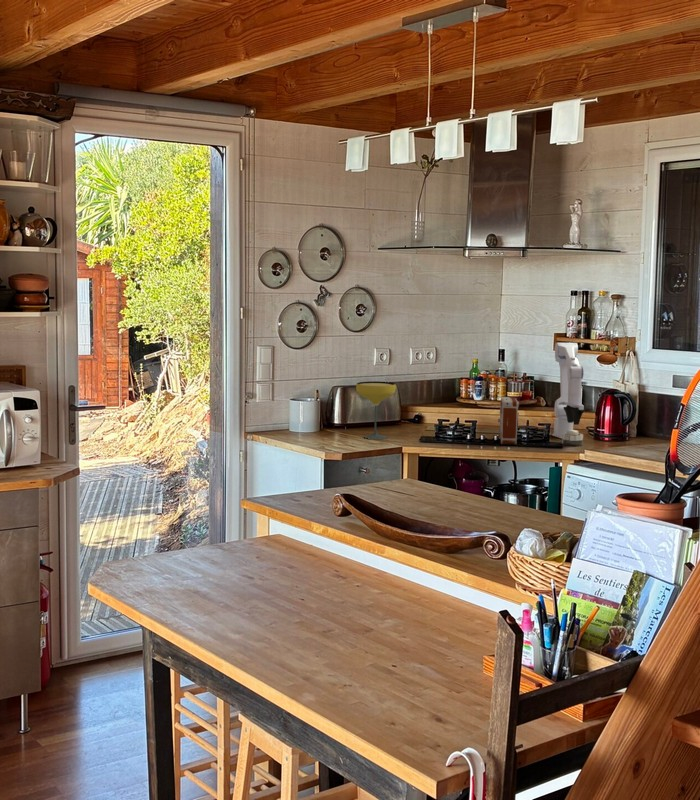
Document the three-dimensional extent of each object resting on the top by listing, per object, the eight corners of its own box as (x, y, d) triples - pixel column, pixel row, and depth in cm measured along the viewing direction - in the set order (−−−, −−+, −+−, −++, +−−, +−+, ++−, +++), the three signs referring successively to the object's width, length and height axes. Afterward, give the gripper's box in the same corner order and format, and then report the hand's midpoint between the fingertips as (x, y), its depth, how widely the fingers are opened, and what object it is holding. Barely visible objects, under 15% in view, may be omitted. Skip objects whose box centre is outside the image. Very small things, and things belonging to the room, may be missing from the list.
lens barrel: (558, 442, 452) (558, 433, 452) (576, 442, 455) (577, 432, 454) (567, 446, 444) (568, 436, 443) (586, 445, 446) (586, 435, 445)
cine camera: (516, 438, 464) (517, 395, 461) (519, 445, 445) (520, 400, 442) (496, 437, 465) (497, 394, 462) (498, 445, 446) (499, 400, 443)
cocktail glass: (388, 433, 472) (389, 380, 469) (400, 440, 455) (400, 385, 452) (351, 435, 468) (351, 381, 464) (361, 441, 450) (362, 386, 447)
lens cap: (564, 438, 451) (565, 429, 450) (574, 437, 452) (575, 429, 451) (569, 440, 446) (569, 431, 445) (580, 439, 447) (580, 431, 446)
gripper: (558, 391, 452) (557, 421, 454) (574, 395, 438) (572, 426, 440) (572, 391, 454) (571, 420, 456) (588, 395, 440) (587, 425, 442)
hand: (573, 423), depth 448 cm, fingers open, 5 cm apart
